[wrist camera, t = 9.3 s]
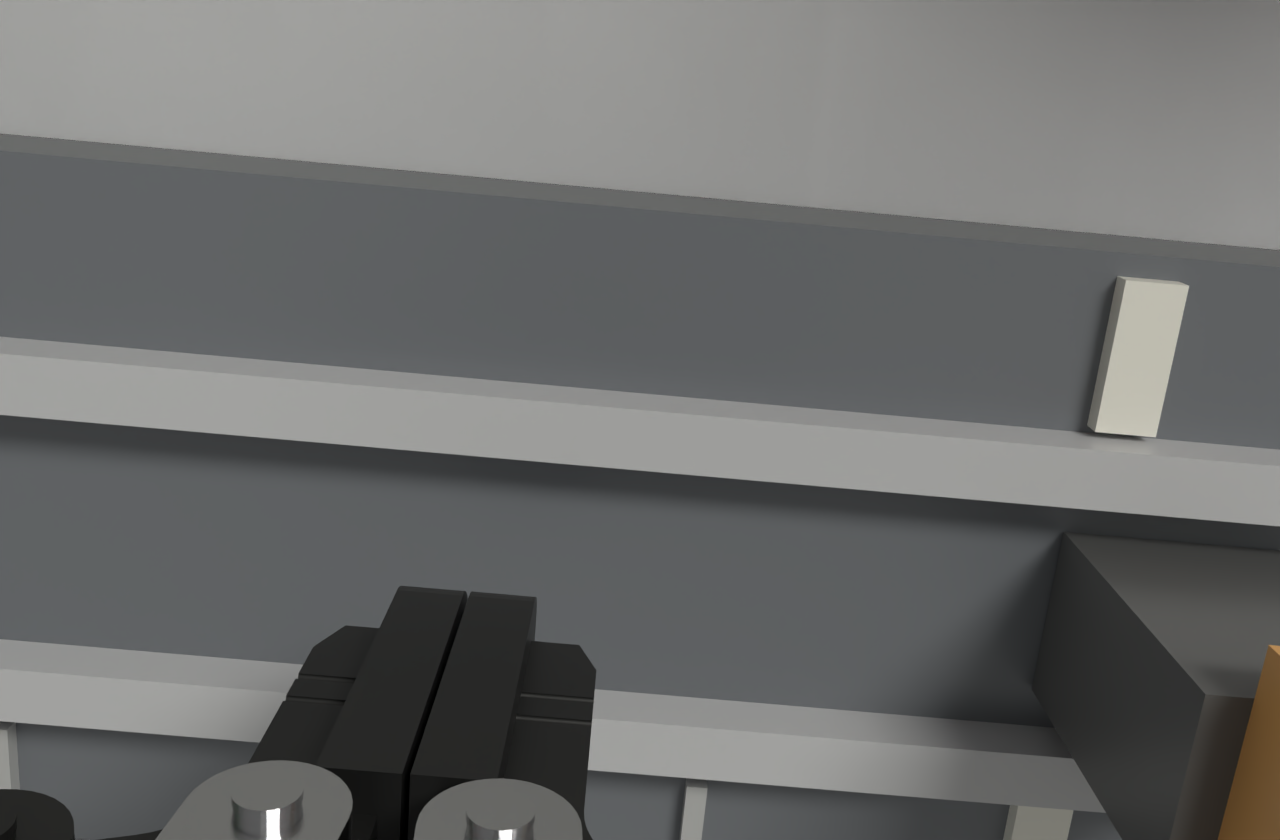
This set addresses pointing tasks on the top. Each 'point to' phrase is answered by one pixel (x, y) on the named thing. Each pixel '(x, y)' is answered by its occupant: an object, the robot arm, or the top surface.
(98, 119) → the top surface
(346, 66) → the top surface
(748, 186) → the top surface
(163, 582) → the console board
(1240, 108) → the top surface
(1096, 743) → the fader tab
